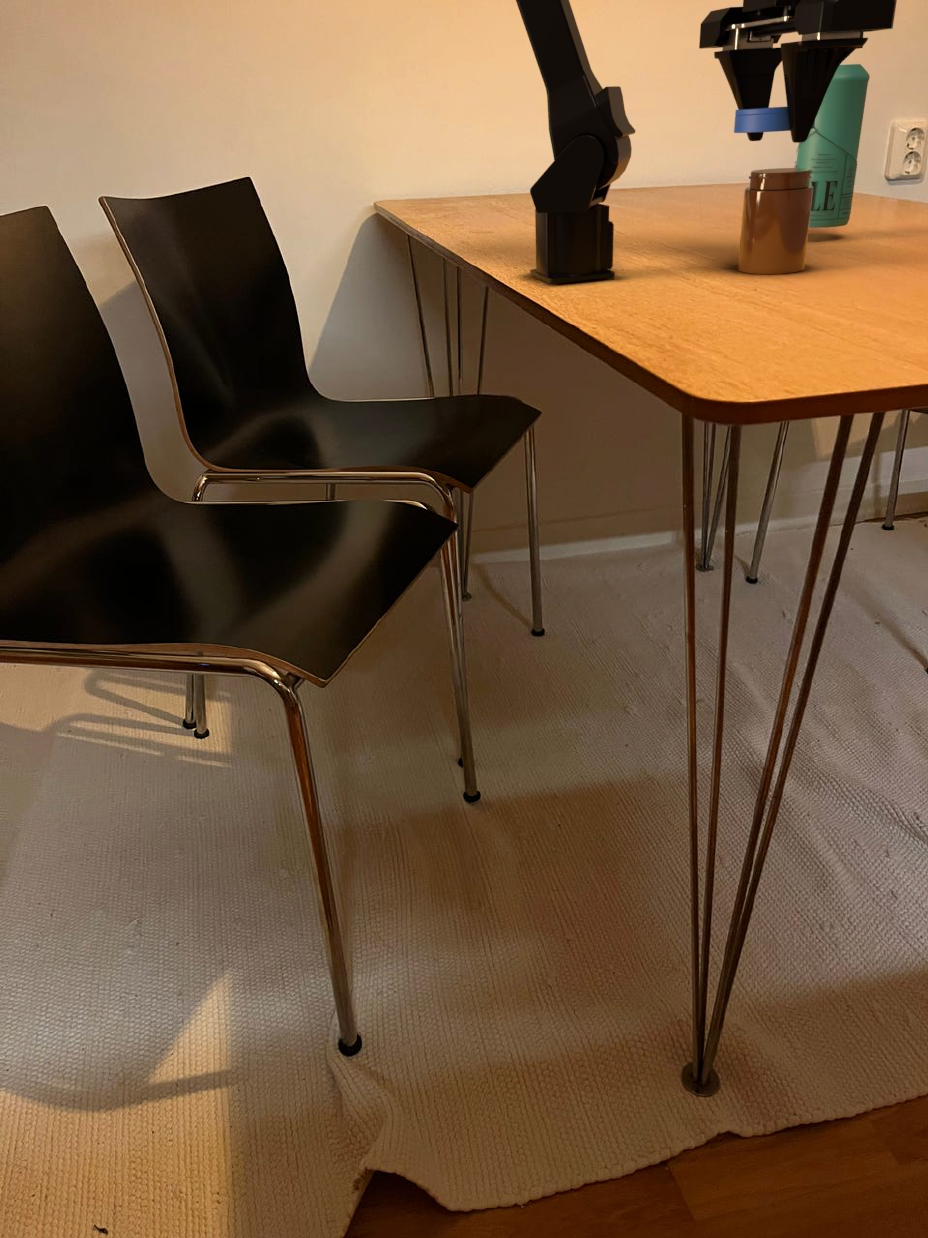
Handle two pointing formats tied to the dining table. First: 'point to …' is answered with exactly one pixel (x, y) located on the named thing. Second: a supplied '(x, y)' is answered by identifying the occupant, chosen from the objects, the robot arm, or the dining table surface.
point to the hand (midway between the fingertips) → (776, 141)
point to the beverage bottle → (835, 146)
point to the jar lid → (762, 120)
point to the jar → (775, 221)
